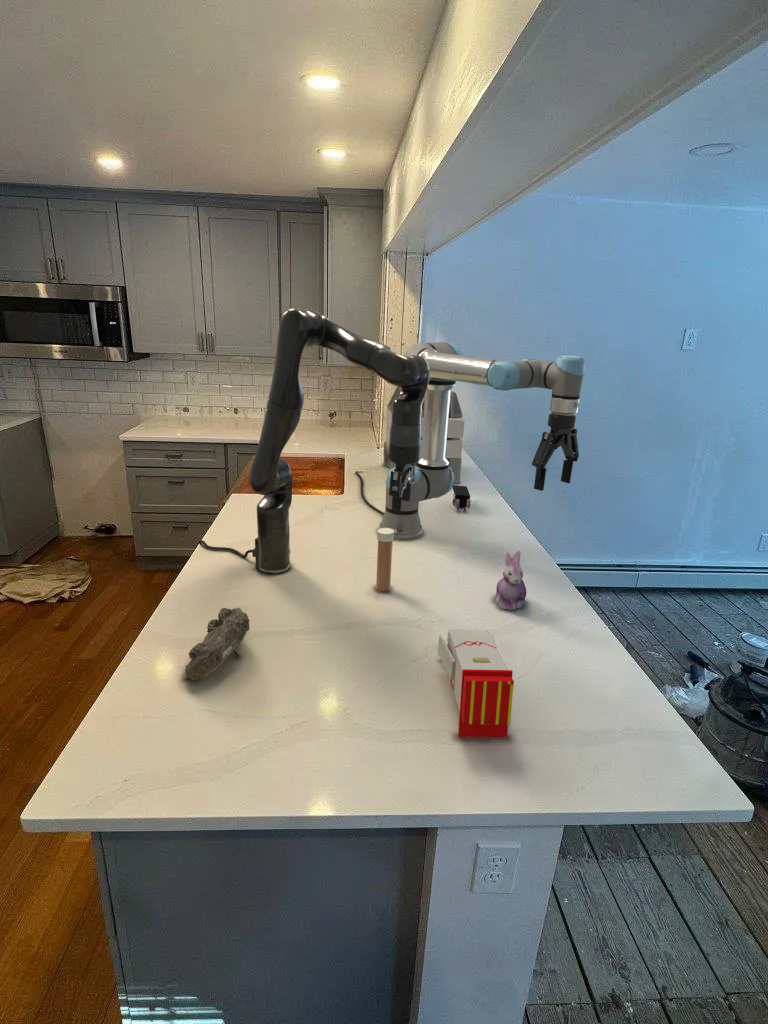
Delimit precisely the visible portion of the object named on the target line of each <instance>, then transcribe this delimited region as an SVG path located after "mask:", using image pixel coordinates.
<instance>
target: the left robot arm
mask: <svg viewBox="0 0 768 1024" xmlns="http://www.w3.org/2000/svg"><path fill="white" fill-rule="evenodd" d="M278 326H279V327H278V332H277V341H276V342H277V343H276V351H275V361H274V368H273V372H272V378H271V384H270V389H269V394H268V397H267V401H266V407H265V413H264V418H263V423H262V427H261V432H260V437H259V441H258V444H257V448H256V451H255V455H254V458H253V460H252V465H251V466H250V471H249V483H250V486H251V488H252V490H253V491H254V492H255V494H258V495H260V496H263V497H262V498H261V499H260V500H259V502H257V504H256V527H257V528H256V529H257V530H256V531H257V537H255V539H254V548H253V549H248V550H246V551H245V553H244V554H243V553H241V552H240V551H238V550H237V549H235V548H232V547H226V546H225V547H223V546H211V545H209V544H207V543H206V541H204V540H202V539H201V540H199V541H198V542H197V544H199V545H201V544H202V545H203V546H204V547H205V548H207V549H209V550H215V551H229V552H233V553H234V554H236V555H238V556H239V557H240V558H247V557H248V555H249V554H251V553H252V555H251V556H252V558H255V569H257V570H259V571H260V572H261V573H265V574H270V575H271V574H272V575H275V574H282V573H285V572H287V571H289V570H290V568H291V560H290V559H291V549H290V546H291V545H290V508H291V505H292V502H293V472H292V468H291V466H290V464H289V463H288V461H286V460H285V459H284V458H282V457H281V455H282V452H283V450H284V448H285V447H286V445H287V444H288V442H289V440H290V439H291V438H292V435H293V434H294V432H296V429H297V427H298V425H299V423H300V420H301V415H302V411H303V407H304V404H305V403H304V402H305V395H304V394H305V393H304V388H303V384H302V381H301V376H300V366H301V360H302V355H303V352H304V350H305V348H313V347H318V348H323V349H328V350H330V351H332V352H336V353H338V354H340V355H341V356H342V357H343V358H344V359H345V360H346V361H348V362H349V363H351V364H352V365H354V366H356V367H359V368H361V369H363V370H365V371H368V372H370V373H372V374H375V375H377V376H378V377H379V378H380V379H382V380H384V381H385V382H387V383H388V384H390V385H392V386H394V387H396V388H397V387H400V388H401V391H400V395H399V396H398V397H397V398H396V399H395V400H394V401H393V405H392V422H391V428H390V439H389V460H390V461H391V462H394V463H395V464H396V467H395V469H394V471H391V473H390V474H391V476H390V490H389V495H390V496H392V510H393V511H397V512H399V511H401V505H402V500H404V501H409V500H410V497H411V487H410V486H412V485H413V483H412V482H414V480H415V479H414V476H415V463H417V462H419V459H420V445H421V416H422V404H423V401H424V398H425V394H426V390H427V386H428V382H429V366H428V363H427V361H426V360H425V359H424V358H423V357H421V356H419V355H410V356H404V355H403V354H398V353H396V352H394V351H393V350H392V348H391V347H390V346H389V345H386V344H384V343H382V342H379V341H377V340H374V339H372V338H369V337H367V336H364V335H361V334H359V333H356V332H354V331H352V330H349V329H347V328H345V327H343V326H342V325H339V324H338V323H336V322H335V321H333V320H332V319H330V318H328V317H327V316H325V315H324V314H322V313H321V312H319V311H317V310H315V309H311V308H300V307H299V308H298V307H297V308H295V307H293V308H292V307H291V308H288V309H287V310H285V312H284V313H283V315H282V316H281V318H280V322H279V325H278ZM396 488H398V491H395V489H396Z"/></svg>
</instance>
